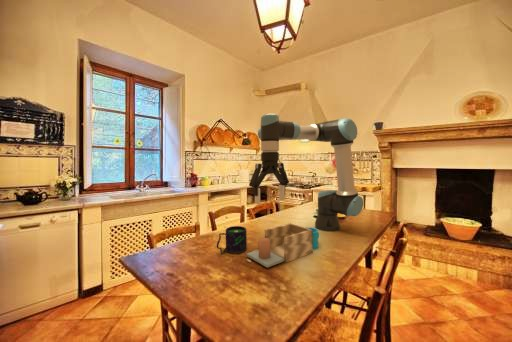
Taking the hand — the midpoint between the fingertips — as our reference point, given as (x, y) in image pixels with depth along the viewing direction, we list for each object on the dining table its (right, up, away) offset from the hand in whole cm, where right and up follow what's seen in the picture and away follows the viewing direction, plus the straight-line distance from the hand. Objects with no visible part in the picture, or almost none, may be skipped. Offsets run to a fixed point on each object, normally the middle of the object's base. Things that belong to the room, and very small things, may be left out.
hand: (270, 201), depth 98 cm
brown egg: (-2, -23, -1) cm, 23 cm away
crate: (+9, -24, +8) cm, 27 cm away
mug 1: (-18, -25, +10) cm, 32 cm away
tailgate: (+1, -23, +2) cm, 23 cm away
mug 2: (+22, -24, +16) cm, 36 cm away
